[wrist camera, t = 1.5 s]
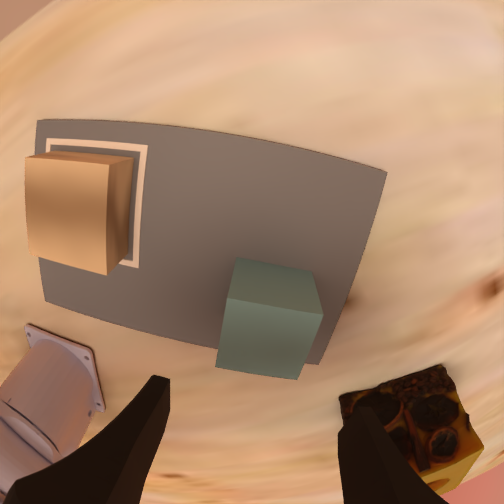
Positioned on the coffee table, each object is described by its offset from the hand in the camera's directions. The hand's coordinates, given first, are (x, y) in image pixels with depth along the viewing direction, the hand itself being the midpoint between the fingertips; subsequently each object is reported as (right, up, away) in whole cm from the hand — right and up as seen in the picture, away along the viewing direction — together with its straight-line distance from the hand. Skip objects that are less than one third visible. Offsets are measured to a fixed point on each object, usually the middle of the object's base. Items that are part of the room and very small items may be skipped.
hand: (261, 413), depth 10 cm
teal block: (0, +3, +8) cm, 9 cm away
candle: (+13, -9, +14) cm, 21 cm away
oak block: (-11, +9, +6) cm, 15 cm away
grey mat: (-5, +6, +8) cm, 11 cm away
